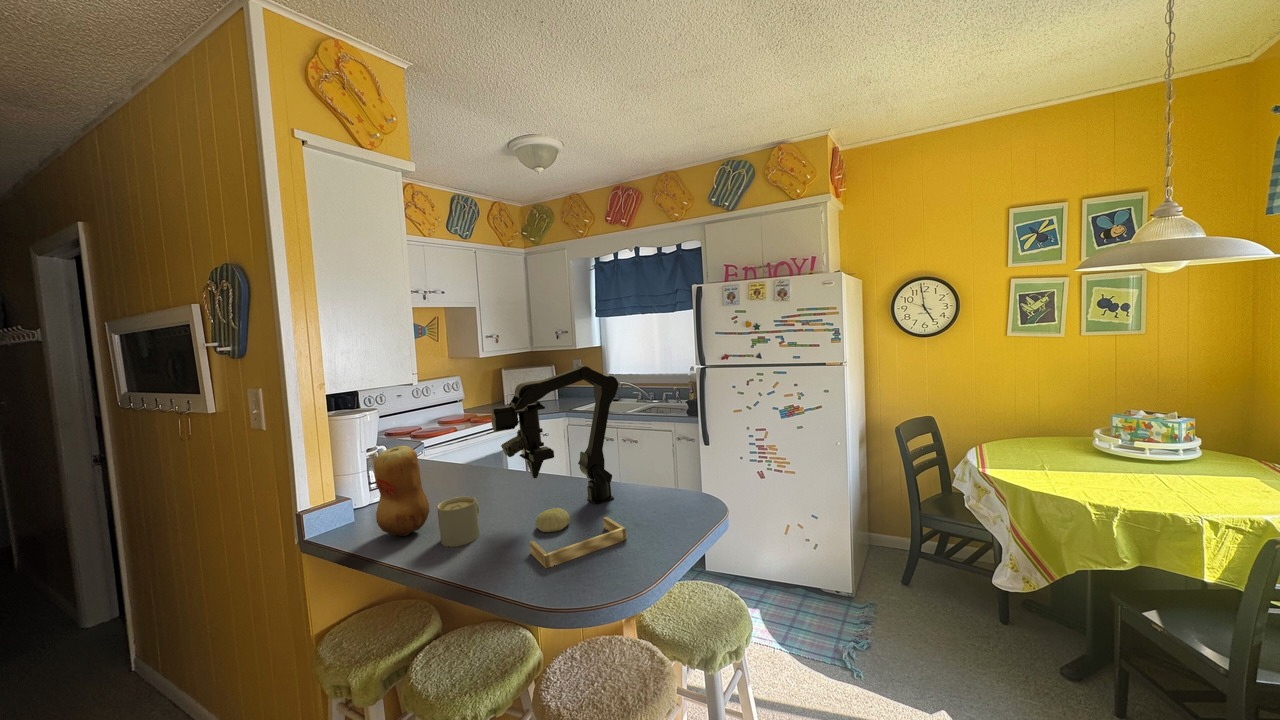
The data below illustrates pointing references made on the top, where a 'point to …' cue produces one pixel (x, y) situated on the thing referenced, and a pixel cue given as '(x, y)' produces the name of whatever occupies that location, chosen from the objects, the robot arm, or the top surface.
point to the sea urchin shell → (552, 520)
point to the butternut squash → (400, 491)
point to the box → (580, 545)
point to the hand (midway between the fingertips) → (535, 477)
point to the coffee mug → (458, 521)
